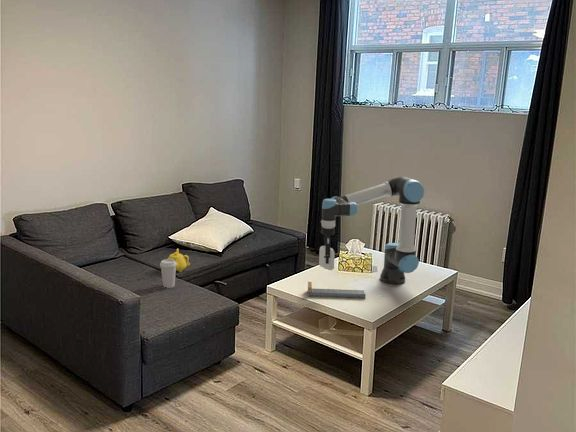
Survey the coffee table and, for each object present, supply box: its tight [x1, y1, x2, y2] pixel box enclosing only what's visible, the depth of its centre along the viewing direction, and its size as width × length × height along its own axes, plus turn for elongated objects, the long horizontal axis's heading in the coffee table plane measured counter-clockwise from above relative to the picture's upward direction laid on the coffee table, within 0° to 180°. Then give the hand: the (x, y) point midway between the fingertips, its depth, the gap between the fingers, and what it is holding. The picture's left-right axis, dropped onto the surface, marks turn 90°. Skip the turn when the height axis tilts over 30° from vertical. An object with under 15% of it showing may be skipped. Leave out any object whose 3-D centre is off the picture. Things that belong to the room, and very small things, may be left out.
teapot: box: [167, 248, 191, 273], centre depth 344 cm, size 20×15×12 cm
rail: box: [307, 281, 367, 300], centre depth 311 cm, size 32×9×6 cm, turn 88°
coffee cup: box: [159, 258, 177, 289], centre depth 317 cm, size 10×10×15 cm
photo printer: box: [318, 245, 336, 271], centre depth 308 cm, size 10×4×12 cm, turn 34°
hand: (326, 265), depth 309 cm, fingers closed on photo printer, 9 cm apart
